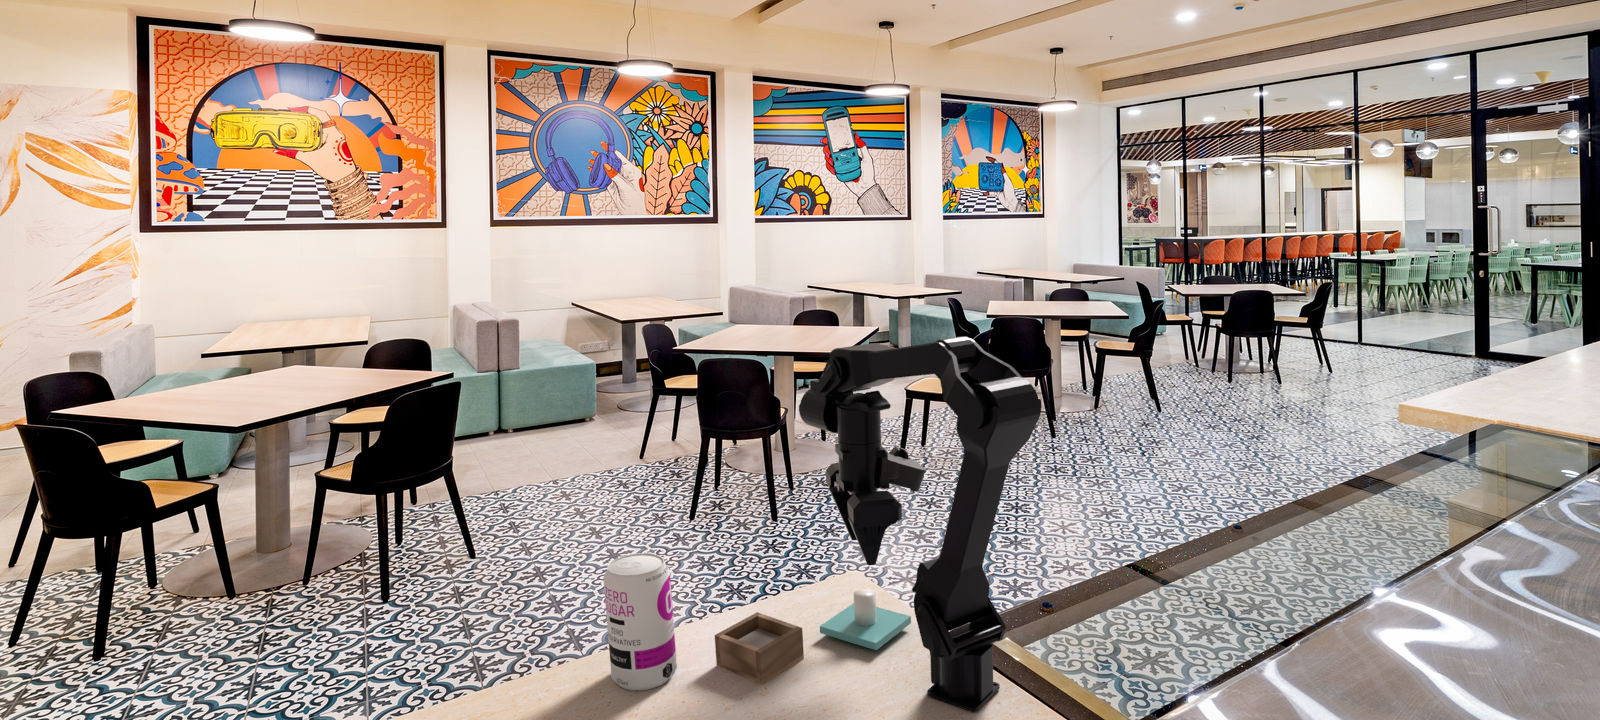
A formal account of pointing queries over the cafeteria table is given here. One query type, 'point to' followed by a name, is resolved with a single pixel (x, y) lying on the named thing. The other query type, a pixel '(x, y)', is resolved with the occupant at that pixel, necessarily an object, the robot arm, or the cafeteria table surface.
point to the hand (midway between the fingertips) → (863, 551)
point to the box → (759, 647)
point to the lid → (865, 622)
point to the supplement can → (640, 621)
